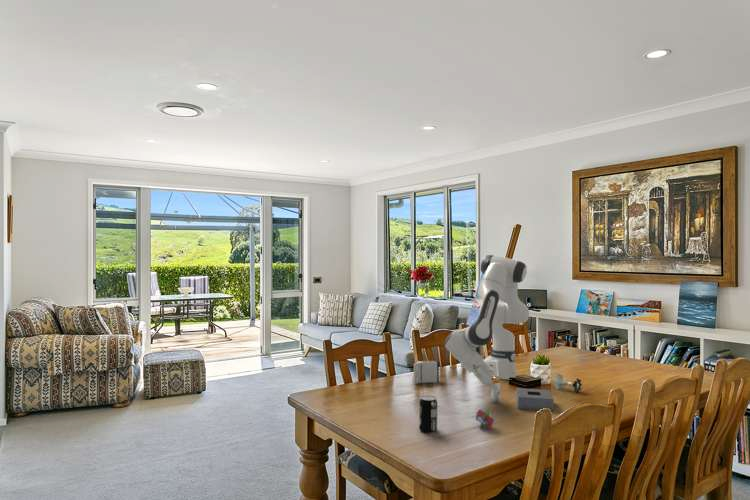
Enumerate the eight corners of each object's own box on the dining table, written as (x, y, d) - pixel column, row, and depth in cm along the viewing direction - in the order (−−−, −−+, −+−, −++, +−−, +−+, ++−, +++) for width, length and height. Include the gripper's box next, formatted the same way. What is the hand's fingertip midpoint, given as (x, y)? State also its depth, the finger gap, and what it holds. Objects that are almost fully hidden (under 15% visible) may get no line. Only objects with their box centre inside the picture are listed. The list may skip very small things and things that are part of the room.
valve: (551, 388, 243) (575, 394, 234) (551, 375, 243) (575, 380, 234) (558, 386, 247) (582, 391, 238) (558, 373, 247) (582, 377, 238)
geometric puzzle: (502, 423, 187) (490, 403, 190) (493, 427, 182) (481, 407, 185) (488, 431, 191) (477, 411, 194) (478, 435, 185) (467, 415, 189)
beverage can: (417, 427, 188) (418, 395, 188) (435, 427, 188) (435, 394, 188) (420, 433, 181) (421, 400, 181) (438, 433, 182) (439, 400, 182)
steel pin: (489, 402, 220) (489, 377, 220) (494, 400, 222) (494, 375, 222) (496, 404, 217) (496, 378, 217) (501, 402, 220) (501, 377, 220)
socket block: (518, 408, 211) (518, 396, 211) (515, 399, 225) (516, 388, 225) (553, 411, 208) (553, 399, 208) (548, 401, 222) (549, 390, 222)
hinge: (414, 384, 249) (414, 363, 249) (410, 381, 254) (410, 361, 254) (440, 382, 253) (440, 362, 253) (435, 379, 258) (435, 360, 258)
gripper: (478, 363, 211) (502, 388, 209) (479, 354, 231) (501, 376, 229) (468, 373, 212) (491, 398, 210) (469, 363, 232) (491, 385, 230)
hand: (496, 386), depth 220 cm, fingers open, 8 cm apart
